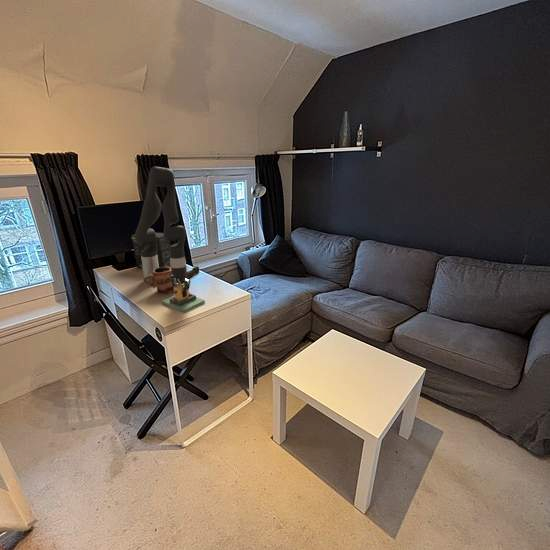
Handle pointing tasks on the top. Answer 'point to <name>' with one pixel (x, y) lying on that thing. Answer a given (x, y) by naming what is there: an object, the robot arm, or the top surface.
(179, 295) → the keyed plug
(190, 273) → the hand tool
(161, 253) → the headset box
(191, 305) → the board
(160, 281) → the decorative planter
